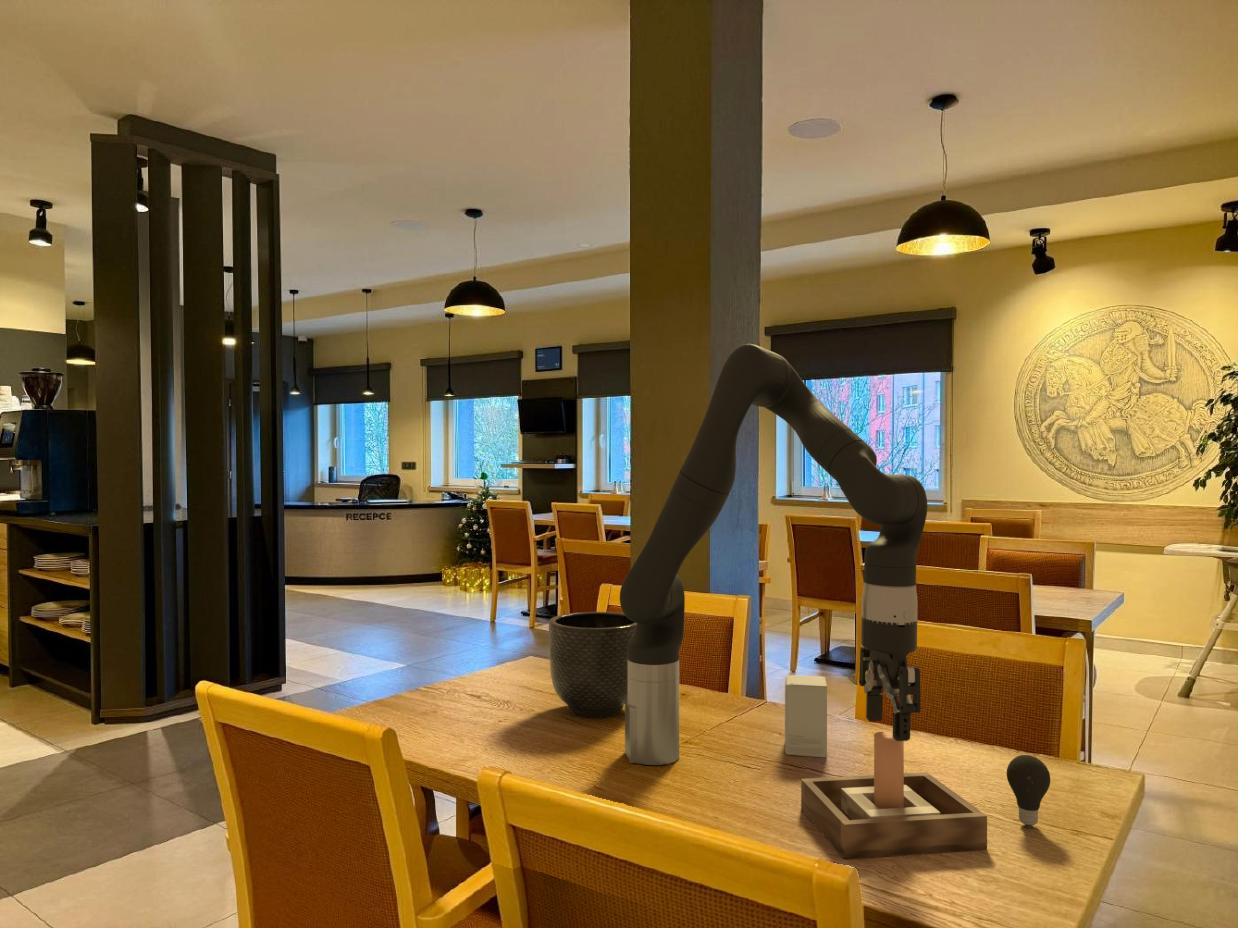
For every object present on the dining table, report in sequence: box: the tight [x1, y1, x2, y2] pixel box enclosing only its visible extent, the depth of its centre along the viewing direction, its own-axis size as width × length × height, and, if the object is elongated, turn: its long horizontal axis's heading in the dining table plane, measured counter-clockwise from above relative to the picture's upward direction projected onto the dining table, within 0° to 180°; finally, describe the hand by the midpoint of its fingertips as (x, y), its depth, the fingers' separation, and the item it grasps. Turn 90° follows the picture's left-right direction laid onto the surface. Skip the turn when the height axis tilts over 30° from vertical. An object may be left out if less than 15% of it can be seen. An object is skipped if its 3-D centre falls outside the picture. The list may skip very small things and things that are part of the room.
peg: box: [873, 731, 905, 809], centre depth 118 cm, size 4×4×12 cm
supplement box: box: [784, 674, 828, 758], centre depth 151 cm, size 7×7×13 cm
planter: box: [548, 611, 637, 719], centre depth 175 cm, size 20×20×19 cm
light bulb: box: [1006, 754, 1051, 828], centre depth 119 cm, size 6×6×10 cm
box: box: [800, 772, 988, 860], centre depth 118 cm, size 20×16×4 cm
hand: (887, 729), depth 118 cm, fingers open, 8 cm apart
